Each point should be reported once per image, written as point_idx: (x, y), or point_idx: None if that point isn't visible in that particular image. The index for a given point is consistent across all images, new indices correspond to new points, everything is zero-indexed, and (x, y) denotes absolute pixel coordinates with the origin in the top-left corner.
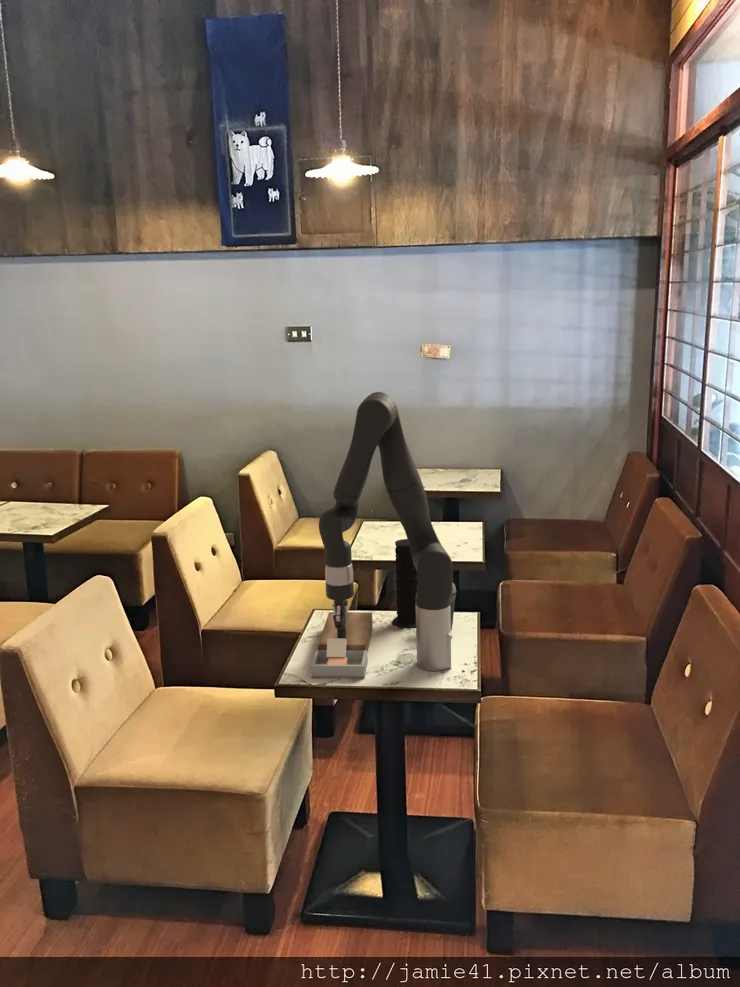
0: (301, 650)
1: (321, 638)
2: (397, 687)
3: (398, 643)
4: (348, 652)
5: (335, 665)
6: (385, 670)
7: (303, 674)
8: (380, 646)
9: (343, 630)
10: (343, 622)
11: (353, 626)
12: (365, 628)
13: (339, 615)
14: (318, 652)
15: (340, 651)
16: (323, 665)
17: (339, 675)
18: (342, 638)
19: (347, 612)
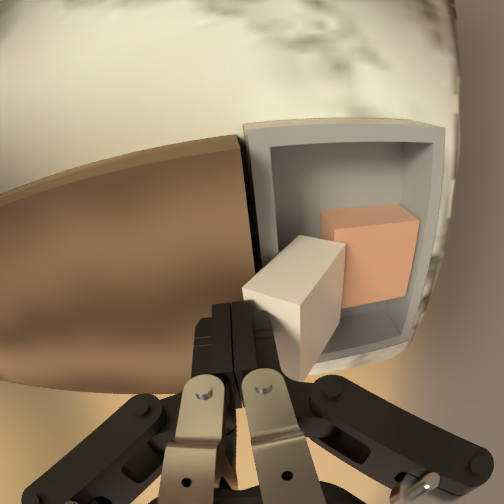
0: None
1: None
2: (449, 4)
3: (20, 56)
4: (275, 239)
5: (427, 262)
6: (323, 27)
7: None
8: (54, 118)
9: (276, 362)
10: (415, 427)
11: (18, 290)
12: (8, 223)
13: (469, 491)
14: None
15: (334, 281)
16: (416, 305)
17: None
18: (267, 322)
19: (195, 488)
